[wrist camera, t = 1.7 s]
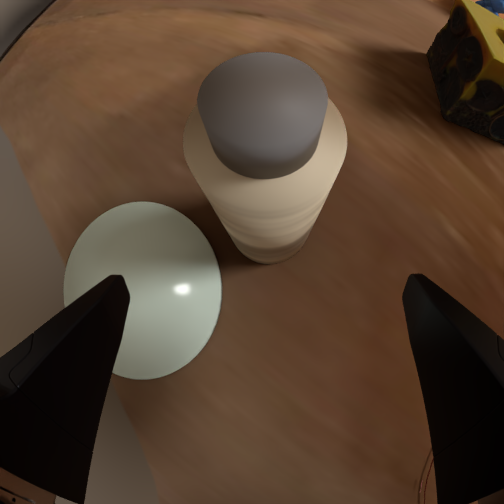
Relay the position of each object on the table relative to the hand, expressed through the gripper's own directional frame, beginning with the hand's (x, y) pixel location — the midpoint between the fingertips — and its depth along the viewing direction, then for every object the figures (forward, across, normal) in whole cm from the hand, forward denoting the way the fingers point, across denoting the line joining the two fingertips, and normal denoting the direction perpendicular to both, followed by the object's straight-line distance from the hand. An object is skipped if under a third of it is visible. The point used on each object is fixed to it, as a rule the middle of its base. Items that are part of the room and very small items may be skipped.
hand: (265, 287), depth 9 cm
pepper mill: (+12, 0, +5) cm, 13 cm away
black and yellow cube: (+22, -22, -5) cm, 32 cm away
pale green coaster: (+8, +10, +8) cm, 15 cm away
